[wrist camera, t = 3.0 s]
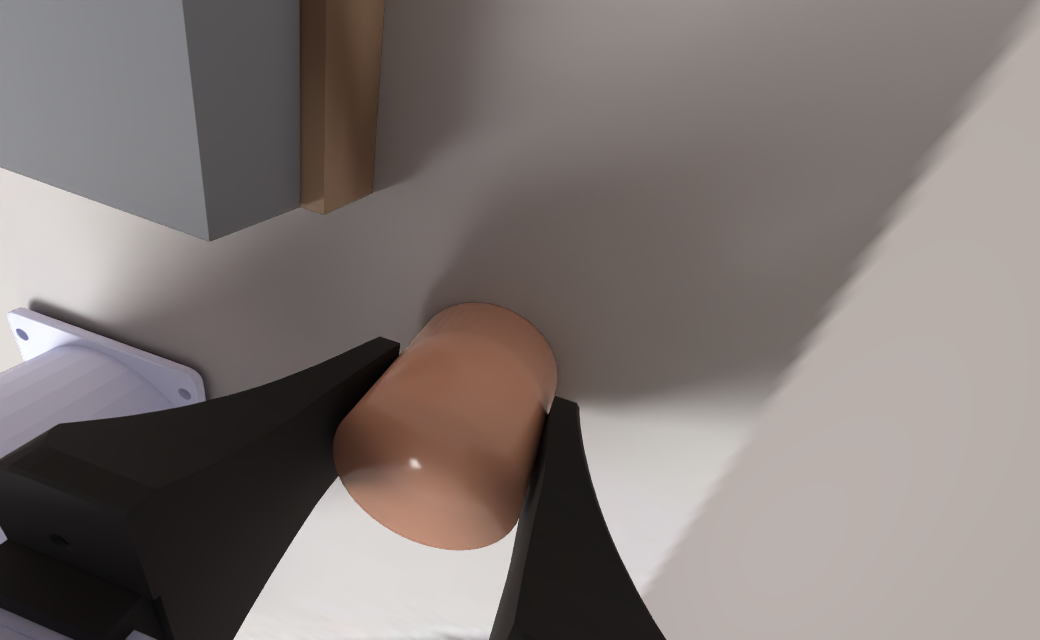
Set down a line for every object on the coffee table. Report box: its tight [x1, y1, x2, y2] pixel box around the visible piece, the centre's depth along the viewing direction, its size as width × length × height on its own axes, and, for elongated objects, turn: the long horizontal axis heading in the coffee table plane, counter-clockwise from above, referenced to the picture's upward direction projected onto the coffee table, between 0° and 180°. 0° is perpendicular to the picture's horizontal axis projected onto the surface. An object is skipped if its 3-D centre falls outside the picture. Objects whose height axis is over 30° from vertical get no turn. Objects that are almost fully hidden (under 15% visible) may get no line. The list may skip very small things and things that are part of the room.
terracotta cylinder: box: [333, 303, 558, 550], centre depth 12 cm, size 4×4×4 cm
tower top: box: [0, 0, 300, 242], centre depth 8 cm, size 5×5×2 cm
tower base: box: [299, 0, 385, 215], centre depth 10 cm, size 6×6×2 cm
